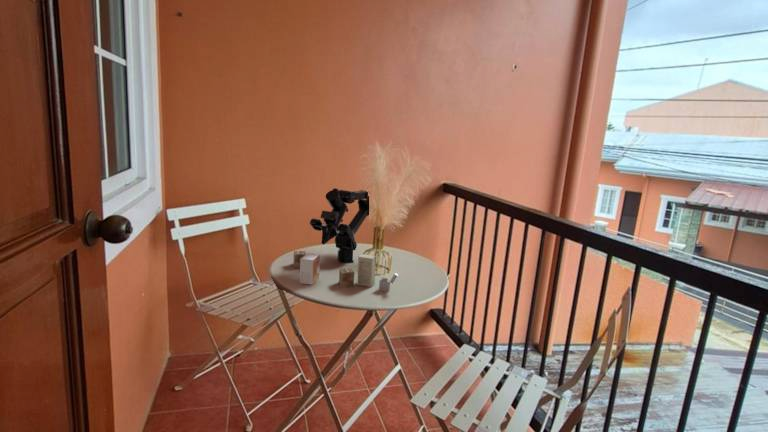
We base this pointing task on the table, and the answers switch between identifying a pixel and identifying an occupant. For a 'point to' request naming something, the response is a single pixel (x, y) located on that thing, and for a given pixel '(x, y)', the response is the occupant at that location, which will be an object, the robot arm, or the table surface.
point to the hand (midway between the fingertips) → (322, 243)
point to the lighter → (386, 283)
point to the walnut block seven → (298, 258)
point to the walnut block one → (346, 277)
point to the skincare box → (366, 270)
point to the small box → (309, 268)
